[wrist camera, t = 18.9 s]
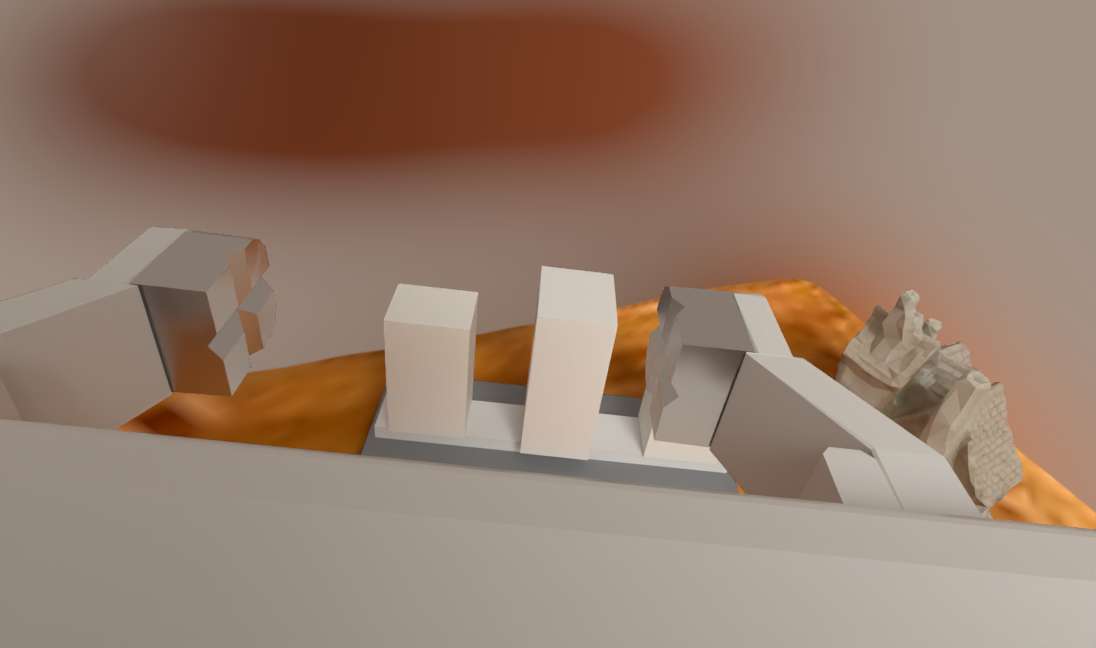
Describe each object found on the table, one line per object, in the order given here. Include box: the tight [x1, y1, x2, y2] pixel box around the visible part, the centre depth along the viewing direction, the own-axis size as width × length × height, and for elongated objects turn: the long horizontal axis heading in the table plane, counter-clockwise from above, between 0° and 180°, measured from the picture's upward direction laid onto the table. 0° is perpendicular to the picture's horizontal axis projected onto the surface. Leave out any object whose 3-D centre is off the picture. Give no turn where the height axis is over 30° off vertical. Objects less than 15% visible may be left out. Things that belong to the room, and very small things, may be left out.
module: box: [520, 266, 618, 460], centre depth 40 cm, size 4×6×11 cm
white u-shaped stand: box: [361, 284, 739, 493], centre depth 42 cm, size 25×10×12 cm, turn 88°
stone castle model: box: [834, 290, 1023, 519], centre depth 44 cm, size 16×16×15 cm
